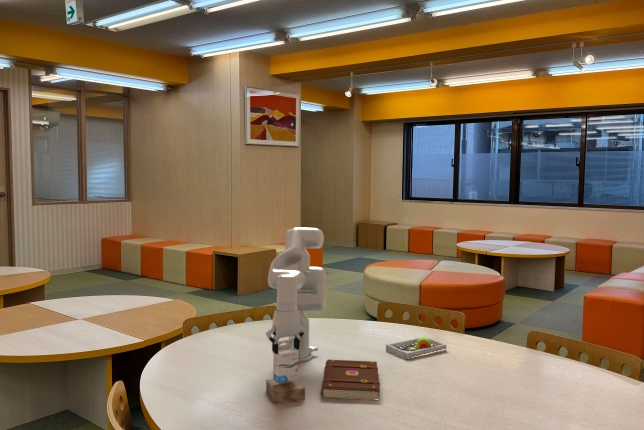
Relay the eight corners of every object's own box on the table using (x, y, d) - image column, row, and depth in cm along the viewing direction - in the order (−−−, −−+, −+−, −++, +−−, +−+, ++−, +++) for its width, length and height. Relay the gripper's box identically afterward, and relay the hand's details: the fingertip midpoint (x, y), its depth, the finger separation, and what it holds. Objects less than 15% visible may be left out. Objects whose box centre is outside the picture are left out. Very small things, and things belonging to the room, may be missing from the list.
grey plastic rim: (424, 342, 272) (424, 336, 272) (446, 350, 260) (446, 344, 260) (385, 350, 258) (385, 344, 258) (406, 359, 246) (406, 353, 245)
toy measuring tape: (436, 354, 254) (436, 340, 253) (395, 350, 258) (396, 337, 257) (436, 349, 260) (436, 336, 260) (396, 346, 264) (396, 333, 264)
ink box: (279, 384, 199) (279, 346, 197) (272, 379, 203) (272, 342, 201) (298, 379, 203) (298, 342, 202) (292, 375, 207) (292, 338, 206)
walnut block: (295, 388, 211) (295, 376, 210) (304, 400, 200) (305, 388, 199) (266, 392, 207) (266, 379, 206) (274, 405, 195) (274, 391, 195)
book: (376, 371, 232) (377, 359, 232) (380, 401, 201) (380, 388, 200) (325, 368, 233) (325, 357, 233) (320, 398, 202) (320, 386, 202)
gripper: (301, 301, 208) (300, 344, 210) (261, 307, 199) (261, 352, 200) (311, 306, 202) (310, 350, 204) (270, 311, 193) (270, 358, 194)
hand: (286, 351), depth 202 cm, fingers closed on ink box, 8 cm apart
